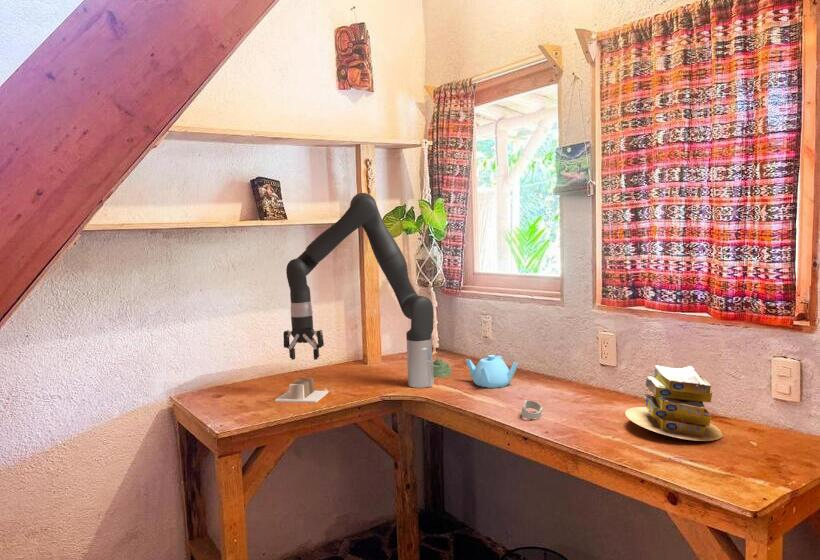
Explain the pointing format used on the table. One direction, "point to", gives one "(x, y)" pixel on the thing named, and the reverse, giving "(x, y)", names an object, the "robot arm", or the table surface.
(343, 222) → the robot arm
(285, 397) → the white mat
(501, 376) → the teapot
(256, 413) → the table surface
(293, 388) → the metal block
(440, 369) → the decorative artifact
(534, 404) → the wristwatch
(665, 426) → the stacked boxes on plate
